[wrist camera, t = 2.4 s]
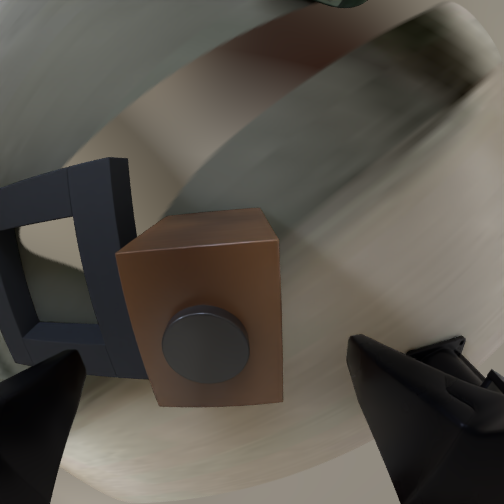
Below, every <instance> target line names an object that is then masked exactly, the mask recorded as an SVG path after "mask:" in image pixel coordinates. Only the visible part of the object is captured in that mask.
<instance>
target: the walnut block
mask: <svg viewBox="0 0 504 504" xmlns="http://www.w3.org/2000/svg"><path fill="white" fill-rule="evenodd" d="M115 256H116V261H117V266H118V271H119V276H120V280H121V285H122V289H123V293H124V297H125V301H126V305H127V309H128V313H129V317H130V321H131V324H132V328H133V331H134V335H135V338H136V341H137V345H138V348H139V351H140V354H141V357H142V360H143V363H144V366H145V369H146V372H147V375H148V378H149V381H150V384H151V386H152V389H153V392H154V394H155V397H156V400H157V402H158V405H159V406H162V407H226V406H244V405H257V404H268V403H278V402H283V345H282V305H281V275H280V251H279V239H278V238H277V236H276V234H275V232H274V231H273V229H272V227H271V226H270V224H269V222H268V221H267V219H266V217H265V215H264V214H263V212H262V210H261V209H260V208H248V209H235V210H223V211H212V212H201V213H191V214H181V215H171V216H166V217H165V218H163V219H162V220H160V221H159V222H158V223H156V224H155V225H153V226H152V227H150V228H149V229H148V230H146V231H145V232H143V233H142V234H141V235H139V236H138V237H136V238H135V239H134V240H132V241H131V242H130V243H128V244H127V245H125V246H124V247H123V248H121V249H120V250H119V251H117V252H116V253H115Z"/></svg>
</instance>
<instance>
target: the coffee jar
mask: <svg viewBox="0 0 504 504" xmlns="http://www.w3.org/2000/svg"><path fill="white" fill-rule="evenodd" d="M314 1H317V2H319V3H322V4H325V5H328V6H332V7H338V8H352V7H355V6H359V5H361V4H363V3H364V2H366V1H368V0H314Z"/></svg>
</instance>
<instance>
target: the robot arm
mask: <svg viewBox="0 0 504 504" xmlns="http://www.w3.org/2000/svg"><path fill="white" fill-rule="evenodd" d="M465 341H466V339H465V338H464V337H463V336H458V337H455V338H452V339H449V340H446V341H443V342H439V343H436V344H433V345H430V346H426V347H423V348H419V349H416V350H412V351H409V352H408V353H407V354H406V355H405V354H403V353H401V352H399V351H396V350H394V349H392V348H390V347H388V346H386V345H384V344H382V343H379V342H377V341H375V340H373V339H371V338H369V337H367V336H365V335H362V334H359V335H354V336H350V337H349V340H348V348H347V356H346V361H347V366H348V369H349V372H350V375H351V379H352V382H353V385H354V389H355V392H356V395H357V399H358V402H359V404H360V407H361V409H362V411H363V413H364V416H365V418H366V420H367V423H368V425H369V427H370V430H371V432H372V434H373V437H374V439H375V441H376V444H377V446H378V449H379V451H380V453H381V456H382V458H383V460H384V463H385V465H386V468H387V470H388V473H389V475H390V477H391V480H392V483H393V485H394V488H395V490H396V493H397V495H398V498H399V501H400V503H401V504H504V377H503V376H501V375H500V374H498V373H497V372H495V371H494V370H492V369H491V371H490V372H489V373H488V375H487V377H486V378H485V377H484V376H483V375H482V374H481V373H480V372H479V371H478V370H477V369H476V368H475V367H474V366H473V365H472V364H471V363H470V362H469V361H468V360H467V359H466V358H465V357H464V356H463V355H462V354H461V353H462V350H463V347H464V344H465ZM86 373H87V371H86V367H85V365H84V362H83V360H82V358H81V355H80V353H79V351H78V350H76V349H66V350H64V351H62V352H60V353H58V354H56V355H54V356H52V357H50V358H48V359H46V360H44V361H42V362H40V363H38V364H36V365H34V366H32V367H30V368H28V369H26V370H24V371H22V372H20V373H18V374H16V375H14V376H12V377H10V378H8V379H6V380H4V381H2V382H0V504H50V503H49V502H51V497H52V492H53V489H54V484H55V480H56V477H57V473H58V469H59V465H60V462H61V458H62V455H63V452H64V448H65V445H66V442H67V439H68V435H69V432H70V429H71V426H72V423H73V420H74V418H75V415H76V412H77V409H78V405H79V401H80V397H81V393H82V389H83V385H84V382H85V378H86Z"/></svg>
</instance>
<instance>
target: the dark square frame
mask: <svg viewBox="0 0 504 504" xmlns="http://www.w3.org/2000/svg"><path fill="white" fill-rule="evenodd" d="M67 217H73V219H74V225H75V231H76V237H77V242H78V248H79V252H80V257H81V262H82V266H83V271H84V275H85V279H86V283H87V287H88V291H89V294H90V298H91V301H92V305H93V308H94V312H95V315H96V318H97V321H98V324H78V323H52V322H39V320H38V318H37V315H36V312H35V309H34V306H33V303H32V300H31V297H30V293H29V290H28V287H27V283H26V280H25V276H24V272H23V269H22V265H21V261H20V256H19V252H18V247H17V242H16V237H15V232H14V228H16V227H21V226H25V225H29V224H35V223H40V222H45V221H51V220H56V219H61V218H67ZM136 237H137V234H136V227H135V220H134V212H133V205H132V196H131V187H130V177H129V167H128V159H127V158H114V157H108V158H103V159H99V160H94V161H90V162H85V163H81V164H78V165H73V166H69V167H66V168H62V169H58V170H55V171H51V172H48V173H45V174H41V175H38V176H35V177H32V178H28V179H25V180H22V181H19V182H16V183H13V184H11V185H8V186H5V187H2V188H0V330H1V332H2V335H3V337H4V339H5V342H6V344H7V346H8V348H9V351H10V353H11V355H12V357H13V359H14V361H15V363H18V364H23V365H28V366H34V365H36V364H38V363H40V362H42V361H44V360H46V359H48V358H50V357H52V356H54V355H56V354H58V353H60V352H62V351H64V350H66V349H76V350H78V351H79V353H80V355H81V358H82V360H83V362H84V365H85V367H86V371H87V373H86V375H95V376H106V377H118V378H133V379H149V378H148V375H147V372H146V369H145V366H144V363H143V360H142V357H141V354H140V351H139V348H138V345H137V341H136V338H135V335H134V331H133V328H132V324H131V321H130V317H129V313H128V309H127V305H126V301H125V297H124V293H123V289H122V285H121V280H120V276H119V271H118V266H117V261H116V256H115V253H116V252H117V251H119V250H120V249H121V248H123V247H124V246H125V245H127V244H128V243H130V242H131V241H132V240H134V239H135V238H136Z"/></svg>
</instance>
